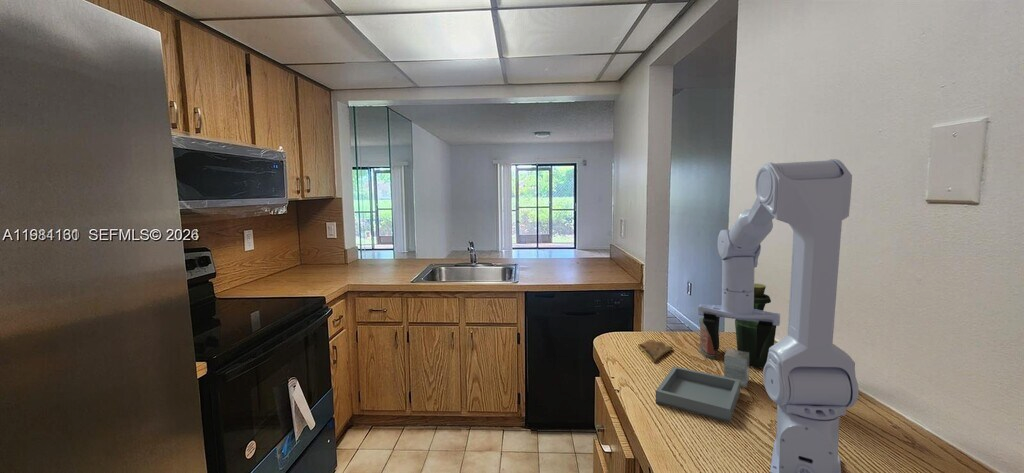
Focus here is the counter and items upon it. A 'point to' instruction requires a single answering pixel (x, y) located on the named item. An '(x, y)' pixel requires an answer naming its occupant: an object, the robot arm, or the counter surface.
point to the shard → (654, 349)
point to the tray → (699, 393)
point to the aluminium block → (737, 366)
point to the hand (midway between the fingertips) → (736, 352)
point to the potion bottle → (754, 331)
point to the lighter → (706, 342)
